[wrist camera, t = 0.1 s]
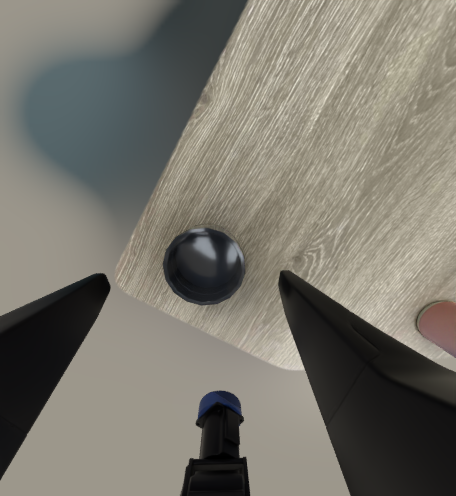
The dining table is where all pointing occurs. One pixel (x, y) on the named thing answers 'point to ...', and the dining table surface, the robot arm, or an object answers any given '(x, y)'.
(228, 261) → the pot
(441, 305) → the beverage can
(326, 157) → the dining table surface
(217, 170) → the dining table surface
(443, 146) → the dining table surface
